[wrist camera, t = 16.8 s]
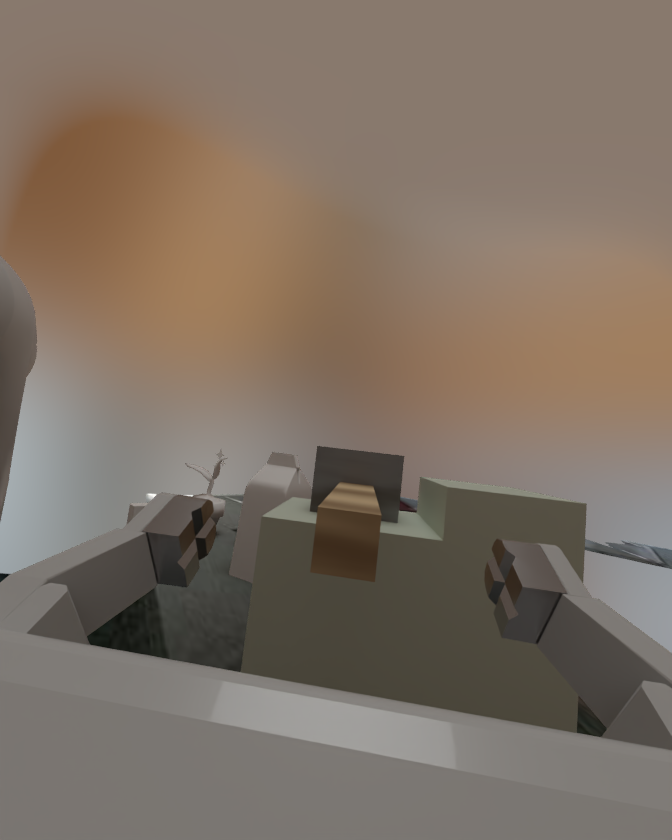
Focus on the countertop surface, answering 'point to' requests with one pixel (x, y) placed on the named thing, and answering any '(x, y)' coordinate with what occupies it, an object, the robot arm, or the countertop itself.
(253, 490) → the milk
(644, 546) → the countertop surface
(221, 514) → the potted plant
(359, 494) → the mallet
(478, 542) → the block
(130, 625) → the countertop surface
